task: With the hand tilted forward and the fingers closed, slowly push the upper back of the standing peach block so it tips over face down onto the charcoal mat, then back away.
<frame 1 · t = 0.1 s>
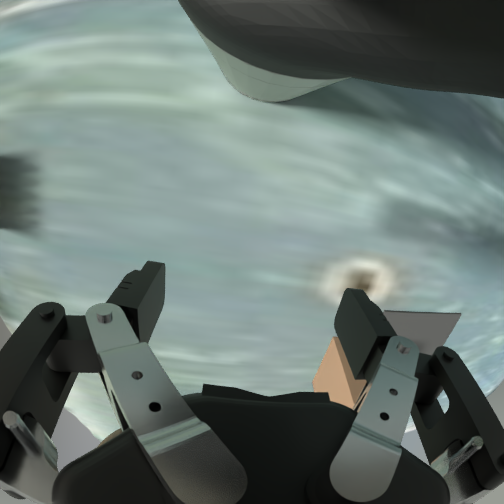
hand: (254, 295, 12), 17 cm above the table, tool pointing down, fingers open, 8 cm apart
peach block: (334, 361, 39), on the table
charcoal mat: (399, 360, 40), on the table
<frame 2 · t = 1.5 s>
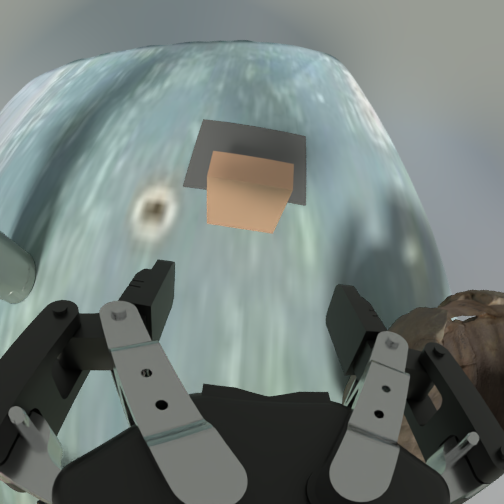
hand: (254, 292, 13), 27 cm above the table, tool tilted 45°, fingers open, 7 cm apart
peach block: (241, 216, 44), on the table
charcoal mat: (250, 157, 49), on the table
clay pot: (379, 397, 37), on the table
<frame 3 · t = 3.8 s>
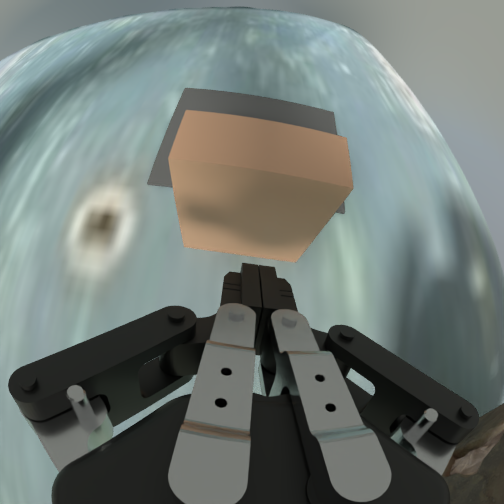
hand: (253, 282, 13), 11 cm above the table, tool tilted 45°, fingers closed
peach block: (242, 234, 26), on the table
charcoal mat: (254, 139, 31), on the table
clay pot: (434, 481, 19), on the table
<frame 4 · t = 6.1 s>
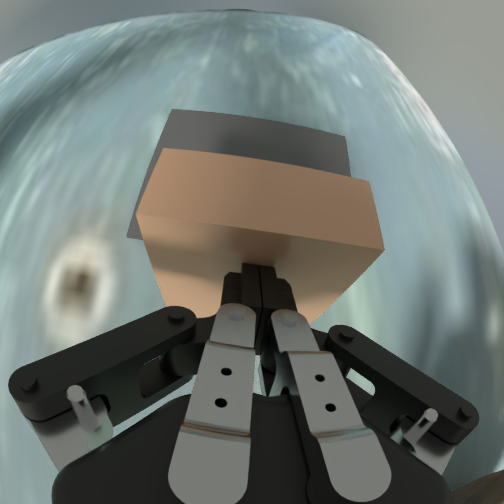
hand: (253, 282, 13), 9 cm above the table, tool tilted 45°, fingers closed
peach block: (239, 300, 22), on the table, tilted 9°, touching gripper
charcoal mat: (253, 175, 27), on the table
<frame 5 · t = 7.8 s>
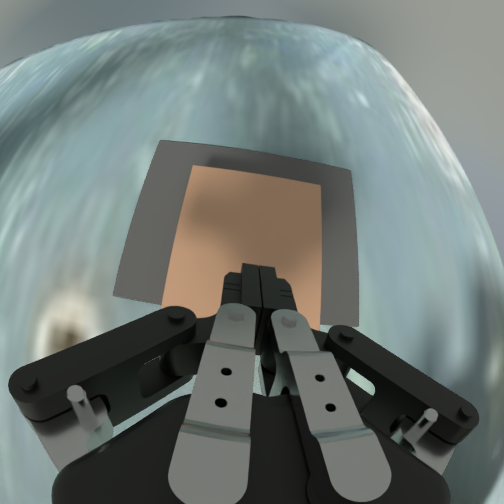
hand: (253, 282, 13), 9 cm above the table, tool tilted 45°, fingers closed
peach block: (237, 339, 19), point 2 cm above the table, tilted 90°, touching charcoal mat
charcoal mat: (248, 222, 25), on the table
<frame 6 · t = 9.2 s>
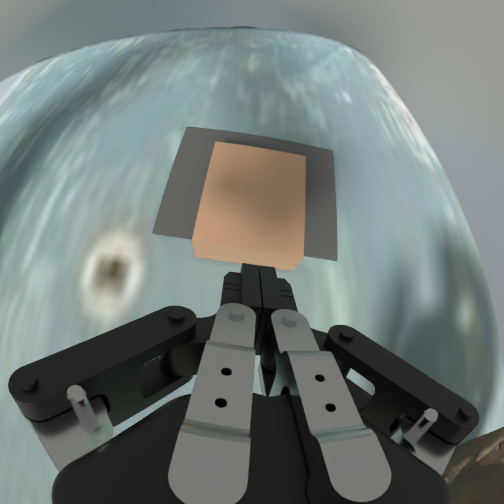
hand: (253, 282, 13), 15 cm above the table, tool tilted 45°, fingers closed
peach block: (245, 257, 27), point 2 cm above the table, tilted 90°, touching charcoal mat
charcoal mat: (254, 184, 33), on the table
clay pot: (411, 498, 20), on the table
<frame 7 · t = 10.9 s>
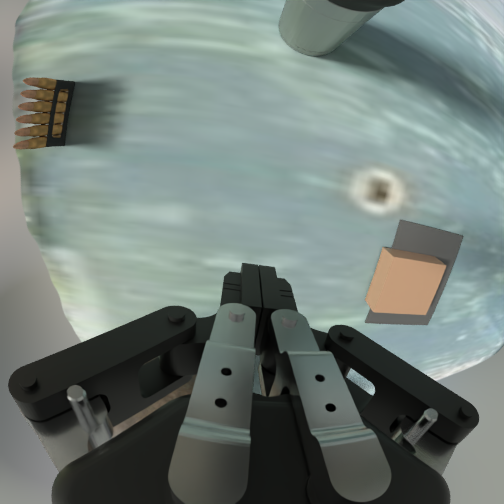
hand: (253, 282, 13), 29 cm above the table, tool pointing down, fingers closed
ammunition clip: (65, 113, 34), on the table
peach block: (378, 279, 44), point 2 cm above the table, tilted 90°, touching charcoal mat
charcoal mat: (417, 278, 47), on the table
clay pot: (196, 363, 53), on the table
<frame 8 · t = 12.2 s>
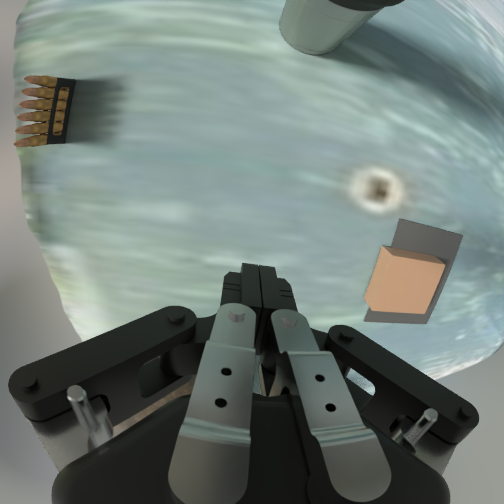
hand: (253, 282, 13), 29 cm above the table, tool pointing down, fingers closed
ammunition clip: (66, 111, 34), on the table
peach block: (377, 278, 44), point 2 cm above the table, tilted 90°, touching charcoal mat
charcoal mat: (416, 277, 47), on the table
clay pot: (195, 360, 53), on the table
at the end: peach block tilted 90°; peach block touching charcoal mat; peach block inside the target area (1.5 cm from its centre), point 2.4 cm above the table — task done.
